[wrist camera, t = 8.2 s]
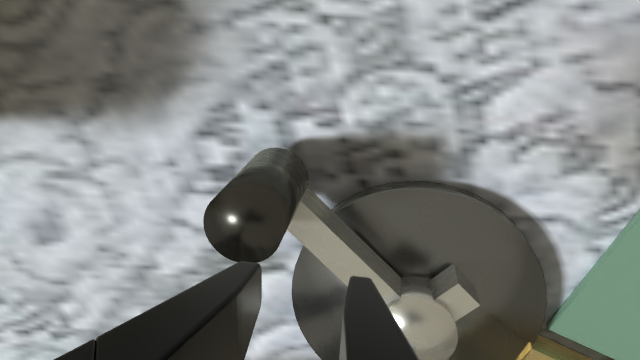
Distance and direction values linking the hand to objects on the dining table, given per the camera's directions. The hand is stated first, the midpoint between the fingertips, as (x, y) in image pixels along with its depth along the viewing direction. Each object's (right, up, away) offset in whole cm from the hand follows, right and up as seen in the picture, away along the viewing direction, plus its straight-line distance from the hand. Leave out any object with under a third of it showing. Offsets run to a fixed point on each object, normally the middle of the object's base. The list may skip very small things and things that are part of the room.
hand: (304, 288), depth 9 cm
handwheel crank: (+2, -1, +12) cm, 12 cm away
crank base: (+5, -4, +13) cm, 15 cm away
